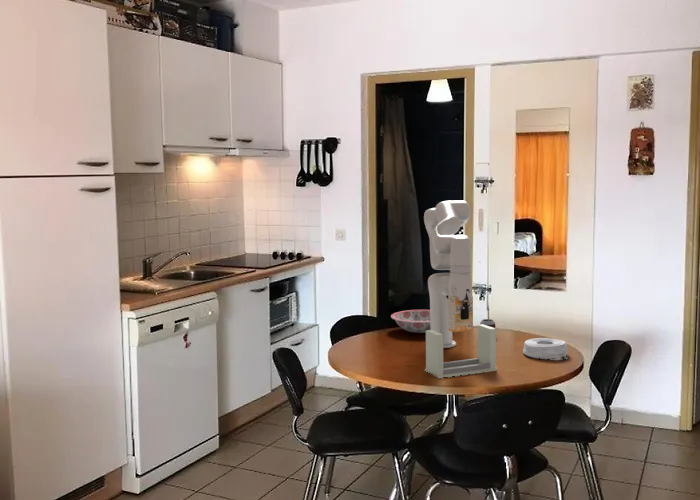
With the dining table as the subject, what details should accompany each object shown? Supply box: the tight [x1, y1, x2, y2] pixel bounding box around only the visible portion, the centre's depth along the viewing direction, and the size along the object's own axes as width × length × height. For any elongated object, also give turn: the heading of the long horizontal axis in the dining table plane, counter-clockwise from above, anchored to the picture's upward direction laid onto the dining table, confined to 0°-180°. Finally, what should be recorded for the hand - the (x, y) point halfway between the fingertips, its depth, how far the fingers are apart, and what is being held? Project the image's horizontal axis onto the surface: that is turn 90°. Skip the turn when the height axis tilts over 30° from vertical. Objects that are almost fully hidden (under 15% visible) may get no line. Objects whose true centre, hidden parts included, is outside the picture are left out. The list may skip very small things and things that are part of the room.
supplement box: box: [447, 295, 474, 333], centre depth 272 cm, size 8×5×13 cm, turn 113°
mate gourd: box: [479, 302, 496, 328], centre depth 330 cm, size 8×8×15 cm
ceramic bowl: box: [390, 309, 430, 334], centre depth 344 cm, size 29×29×8 cm
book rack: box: [424, 323, 498, 379], centre depth 274 cm, size 11×25×16 cm, turn 112°
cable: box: [522, 337, 569, 361], centre depth 296 cm, size 18×18×6 cm
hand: (460, 317), depth 272 cm, fingers closed on supplement box, 4 cm apart
